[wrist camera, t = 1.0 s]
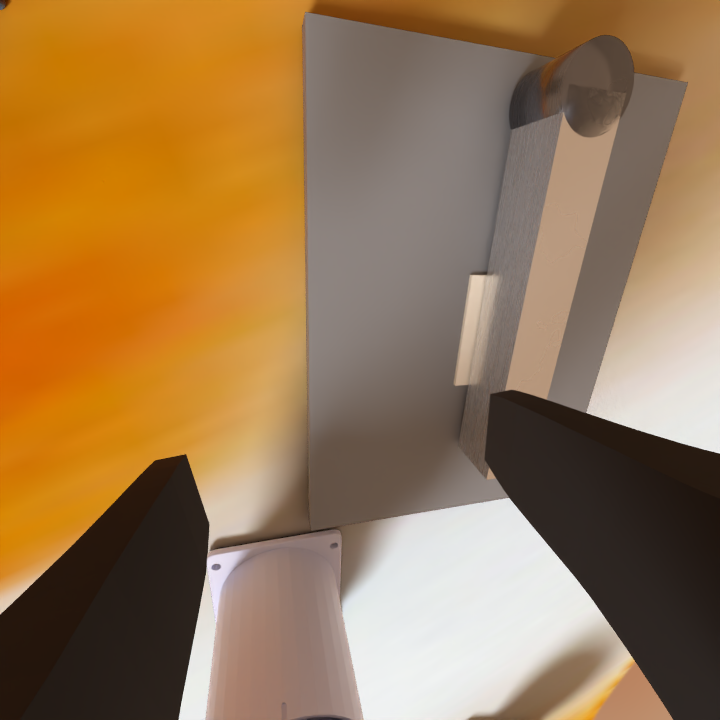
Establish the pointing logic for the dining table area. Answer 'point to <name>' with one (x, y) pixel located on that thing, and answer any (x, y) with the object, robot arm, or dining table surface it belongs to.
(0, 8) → the protein box
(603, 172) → the swing bar
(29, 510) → the dining table surface
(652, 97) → the label board
